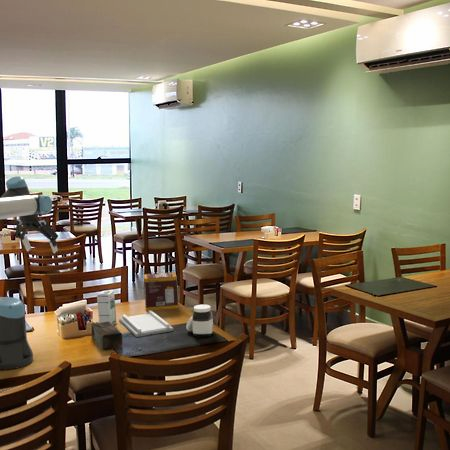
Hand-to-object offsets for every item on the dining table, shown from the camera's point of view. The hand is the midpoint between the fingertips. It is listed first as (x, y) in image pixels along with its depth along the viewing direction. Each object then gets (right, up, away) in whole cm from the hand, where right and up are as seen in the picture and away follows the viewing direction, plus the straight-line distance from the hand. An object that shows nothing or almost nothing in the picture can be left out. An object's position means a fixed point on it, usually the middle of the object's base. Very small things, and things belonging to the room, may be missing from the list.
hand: (42, 250), depth 251 cm
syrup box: (+30, -32, -3) cm, 44 cm away
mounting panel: (+47, -32, -6) cm, 57 cm away
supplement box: (+50, -28, +23) cm, 62 cm away
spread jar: (+71, -33, -19) cm, 80 cm away
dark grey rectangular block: (+34, -36, -26) cm, 56 cm away
